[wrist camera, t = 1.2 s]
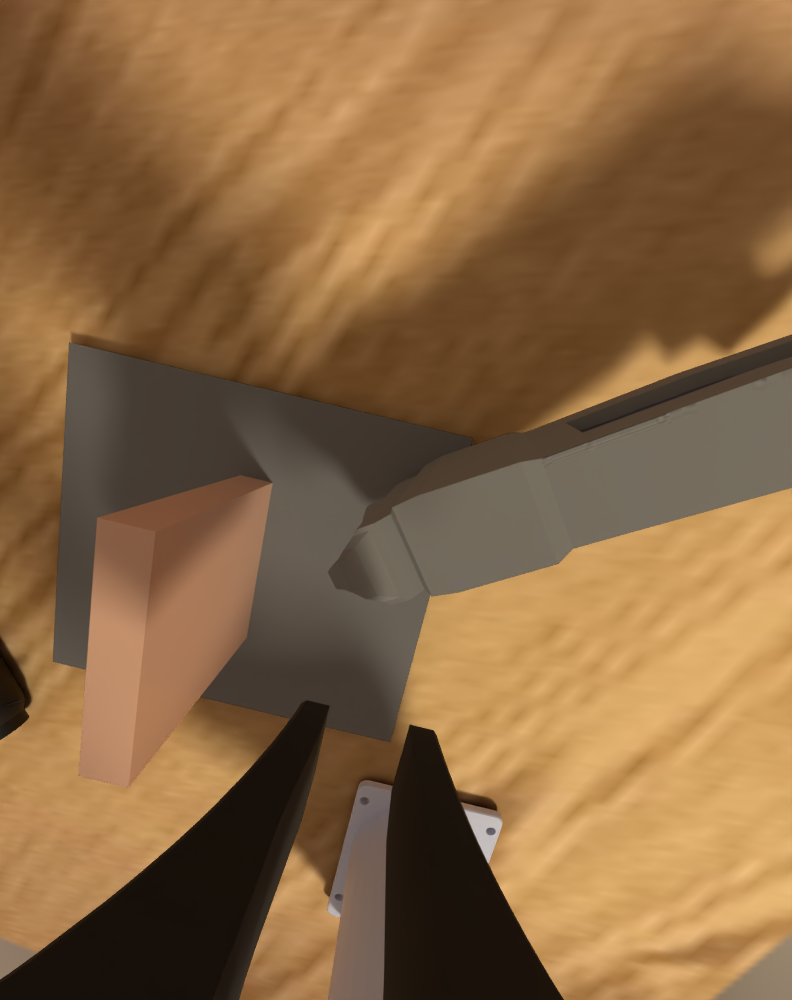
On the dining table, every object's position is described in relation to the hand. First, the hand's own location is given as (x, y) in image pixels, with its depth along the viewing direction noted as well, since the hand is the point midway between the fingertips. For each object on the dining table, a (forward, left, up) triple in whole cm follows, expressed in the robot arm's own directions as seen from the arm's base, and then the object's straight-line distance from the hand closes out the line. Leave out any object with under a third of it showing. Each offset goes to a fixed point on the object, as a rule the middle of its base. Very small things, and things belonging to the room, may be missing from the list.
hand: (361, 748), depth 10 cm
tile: (0, +7, -9) cm, 11 cm away
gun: (+11, -9, -9) cm, 17 cm away
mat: (0, +7, -9) cm, 12 cm away
